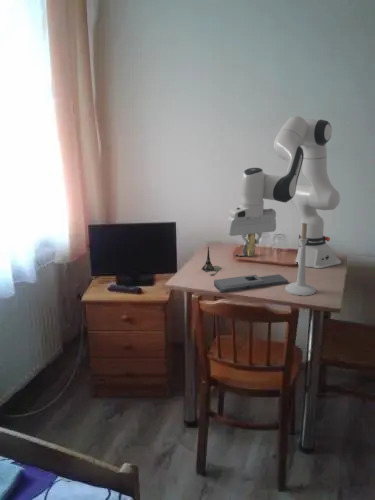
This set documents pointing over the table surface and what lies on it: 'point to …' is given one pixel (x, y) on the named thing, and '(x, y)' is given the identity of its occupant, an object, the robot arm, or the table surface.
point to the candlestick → (301, 271)
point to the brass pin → (251, 245)
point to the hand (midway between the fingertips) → (251, 244)
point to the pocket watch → (244, 250)
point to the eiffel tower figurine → (210, 265)
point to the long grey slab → (248, 282)
